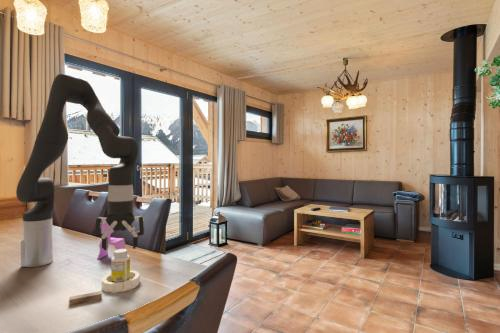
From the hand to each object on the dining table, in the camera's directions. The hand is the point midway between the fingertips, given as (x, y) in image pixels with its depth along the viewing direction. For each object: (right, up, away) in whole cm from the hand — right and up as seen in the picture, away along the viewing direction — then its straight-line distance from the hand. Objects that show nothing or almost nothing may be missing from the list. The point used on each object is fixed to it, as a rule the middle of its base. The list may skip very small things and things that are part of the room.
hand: (120, 248), depth 94 cm
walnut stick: (-5, -12, -11) cm, 17 cm away
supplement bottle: (0, -11, +1) cm, 11 cm away
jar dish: (0, -12, 0) cm, 12 cm away
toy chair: (-15, -11, +26) cm, 32 cm away
